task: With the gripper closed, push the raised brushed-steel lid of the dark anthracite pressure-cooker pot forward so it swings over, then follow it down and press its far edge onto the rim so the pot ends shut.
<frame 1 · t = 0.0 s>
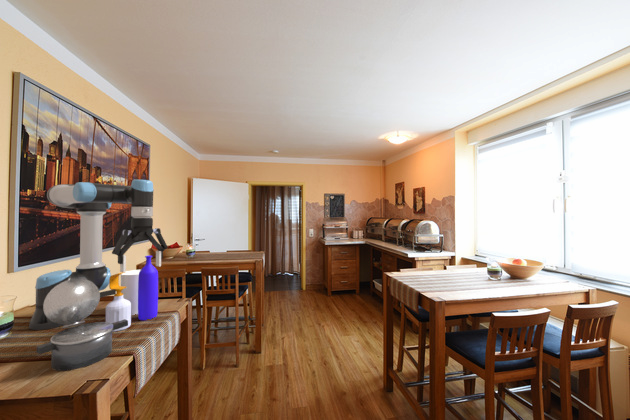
hand: (141, 268, 109), 28 cm above the table, fingers open, 13 cm apart
pot: (83, 357, 93), on the table
lid: (82, 300, 101), point 18 cm above the table, hinge at 96.0°
soap bottle: (118, 328, 118), on the table
bottle: (147, 317, 129), on the table
canister: (136, 310, 139), on the table
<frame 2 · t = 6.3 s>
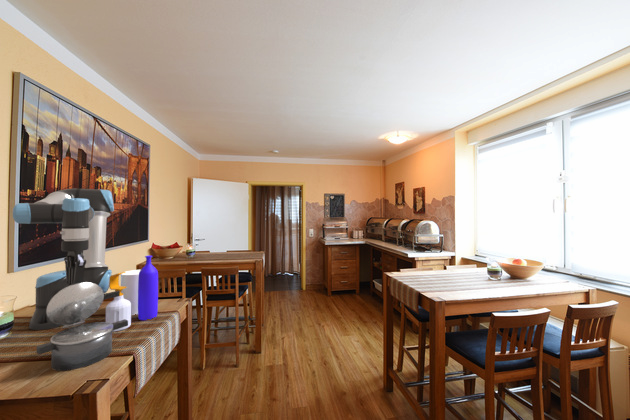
hand: (74, 303, 98), 17 cm above the table, fingers closed
lid: (85, 301, 99), point 18 cm above the table, hinge at 73.6°, touching gripper
everything else where it was.
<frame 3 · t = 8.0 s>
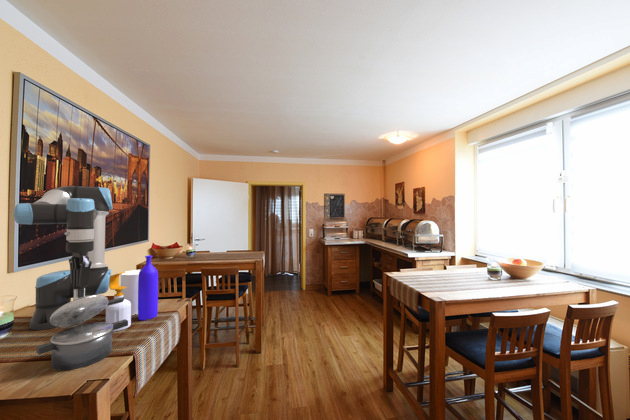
hand: (79, 305, 96), 17 cm above the table, fingers closed
lid: (89, 308, 98), point 16 cm above the table, hinge at 46.2°, touching gripper
everything else where it was.
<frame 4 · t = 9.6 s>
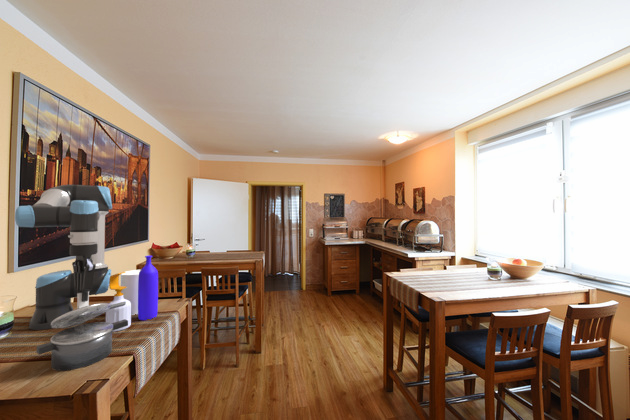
hand: (82, 310, 94), 17 cm above the table, fingers closed
lid: (91, 312, 97), point 15 cm above the table, hinge at 33.7°
everything else where it was.
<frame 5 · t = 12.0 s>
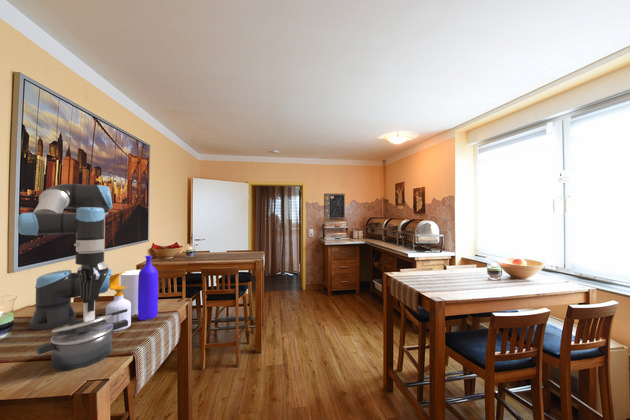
hand: (89, 320, 91), 14 cm above the table, fingers closed
lid: (92, 319, 96), point 12 cm above the table, hinge at 14.5°, touching gripper
everything else where it was.
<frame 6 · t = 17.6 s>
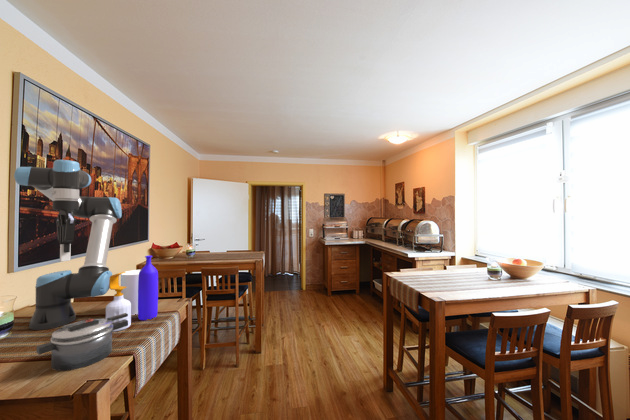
hand: (65, 260, 103), 32 cm above the table, fingers closed
lid: (92, 323, 96), point 11 cm above the table, hinge at 3.2°
everything else where it was.
at the end: lid at +3° (first picture: +96°) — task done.
